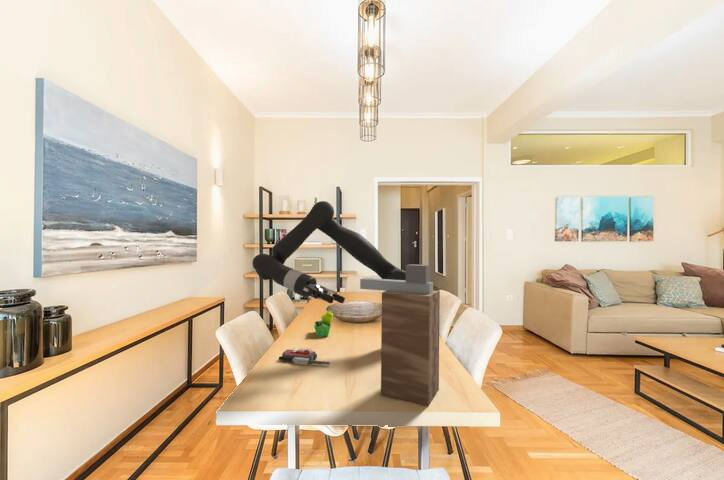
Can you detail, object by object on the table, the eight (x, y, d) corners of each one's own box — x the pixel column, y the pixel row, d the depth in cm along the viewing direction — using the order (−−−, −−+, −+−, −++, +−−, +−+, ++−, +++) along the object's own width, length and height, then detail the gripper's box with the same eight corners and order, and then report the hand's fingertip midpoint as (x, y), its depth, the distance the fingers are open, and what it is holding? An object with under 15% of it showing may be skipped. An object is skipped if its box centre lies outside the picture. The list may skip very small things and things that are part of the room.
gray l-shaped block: (366, 287, 111) (366, 262, 111) (433, 292, 101) (433, 265, 101) (359, 288, 107) (359, 263, 107) (429, 294, 97) (429, 266, 97)
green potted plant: (314, 331, 170) (314, 308, 170) (332, 331, 171) (332, 308, 171) (314, 337, 158) (314, 313, 158) (333, 337, 159) (333, 313, 159)
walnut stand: (395, 381, 110) (396, 287, 110) (438, 389, 104) (439, 290, 104) (380, 396, 99) (381, 292, 99) (428, 406, 93) (429, 296, 93)
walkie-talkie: (275, 363, 125) (328, 368, 122) (275, 351, 125) (328, 355, 122) (285, 356, 134) (335, 360, 130) (285, 344, 134) (335, 348, 130)
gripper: (292, 271, 114) (333, 289, 107) (313, 274, 127) (350, 290, 120) (284, 292, 114) (324, 311, 107) (306, 293, 127) (343, 310, 120)
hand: (338, 300), depth 114 cm, fingers open, 8 cm apart
